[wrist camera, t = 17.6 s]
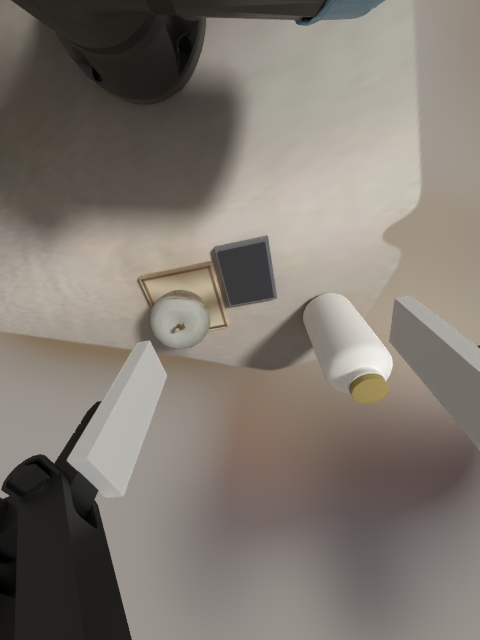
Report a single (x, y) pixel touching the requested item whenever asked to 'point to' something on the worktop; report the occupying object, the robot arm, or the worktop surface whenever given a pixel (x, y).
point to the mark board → (189, 288)
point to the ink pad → (247, 271)
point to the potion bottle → (347, 348)
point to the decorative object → (180, 319)
